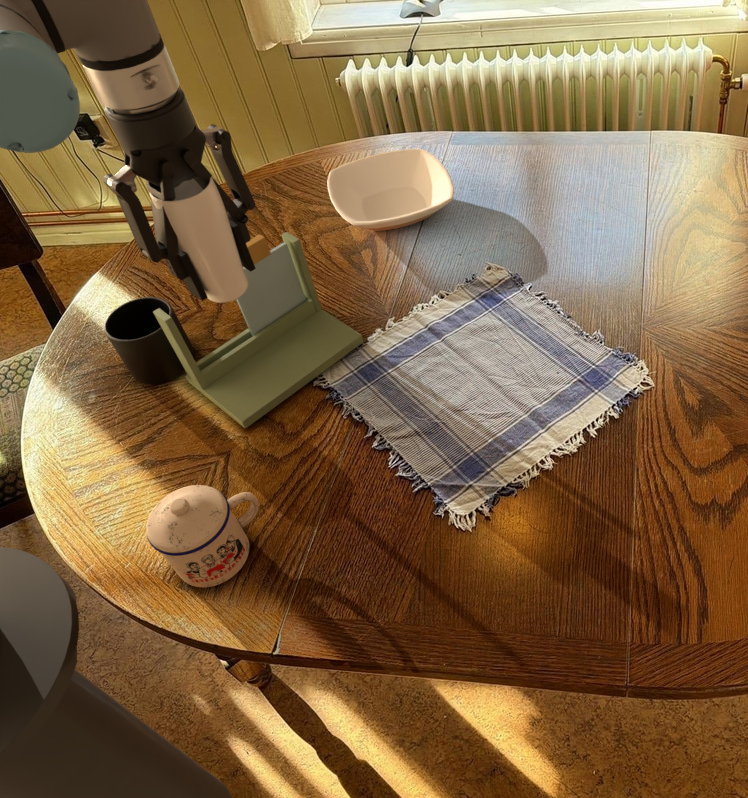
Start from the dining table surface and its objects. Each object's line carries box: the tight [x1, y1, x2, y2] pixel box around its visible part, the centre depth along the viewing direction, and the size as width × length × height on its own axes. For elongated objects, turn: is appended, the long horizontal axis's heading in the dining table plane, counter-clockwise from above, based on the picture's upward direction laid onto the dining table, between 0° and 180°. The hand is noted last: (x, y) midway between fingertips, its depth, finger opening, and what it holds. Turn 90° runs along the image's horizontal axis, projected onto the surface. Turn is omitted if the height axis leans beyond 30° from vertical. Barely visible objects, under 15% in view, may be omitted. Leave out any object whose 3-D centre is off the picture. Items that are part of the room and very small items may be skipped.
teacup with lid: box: [145, 484, 260, 588], centre depth 87 cm, size 12×9×12 cm
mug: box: [103, 296, 196, 385], centre depth 110 cm, size 9×12×9 cm
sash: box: [235, 234, 306, 337], centre depth 109 cm, size 10×1×16 cm, turn 140°
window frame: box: [153, 231, 364, 429], centre depth 107 cm, size 22×14×15 cm, turn 140°
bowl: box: [326, 148, 455, 232], centre depth 136 cm, size 22×22×5 cm
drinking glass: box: [148, 176, 248, 304], centre depth 86 cm, size 7×7×15 cm
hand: (222, 279), depth 90 cm, fingers closed on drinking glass, 6 cm apart
